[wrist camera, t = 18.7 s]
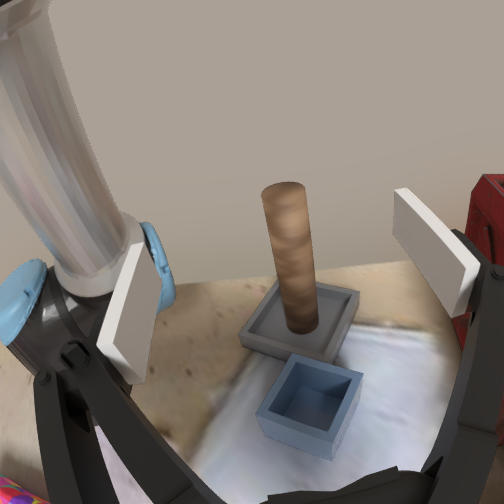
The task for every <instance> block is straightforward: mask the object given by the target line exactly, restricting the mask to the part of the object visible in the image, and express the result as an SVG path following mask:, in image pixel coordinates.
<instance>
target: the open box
mask: <svg viewBox="0 0 504 504" xmlns="http://www.w3.org/2000/svg"><path fill="white" fill-rule="evenodd" d="M363 374H364V373H360V372H357V371H353V370H349V369H345V368H342V367H338V366H335V365H331V364H328V363H324V362H321V361H317V360H314V359H310V358H307V357H304V356H301V355H297V354H294V353H292V354H291V356H290V358H289V359H288V361H287V363H286V364H285V366H284V368H283V370H282V371H281V373H280V375H279V376H278V378H277V380H276V381H275V383H274V384H273V386H272V388H271V389H270V391H269V393H268V394H267V396H266V397H265V399H264V401H263V402H262V404H261V405H260V407H259V409H258V410H257V412H256V413H255V415H256V417H257V419H258V421H259V424H260V426H261V428H262V430H263V432H264V434H265V436H267V437H269V438H272V439H274V440H277V441H279V442H282V443H284V444H287V445H289V446H292V447H294V448H297V449H300V450H302V451H305V452H308V453H311V454H313V455H316V456H319V457H322V458H325V459H328V460H331V461H332V459H333V457H334V455H335V453H336V451H337V449H338V447H339V445H340V443H341V441H342V439H343V437H344V435H345V432H346V430H347V428H348V426H349V424H350V421H351V419H352V417H353V414H354V412H355V410H356V407H357V405H358V403H359V400H360V394H361V388H362V381H363Z"/></svg>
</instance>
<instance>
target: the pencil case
mask: <svg viewBox="0 0 504 504" xmlns="http://www.w3.org/2000/svg"><path fill="white" fill-rule="evenodd" d="M0 504H51V503H49V502H47V501H45V500H43V499H41V498H39V497H37V496H36V495H33V494H31V493H30V492H28V491H26V490H24V489H23V488H22V487H21V486H19V485H17V484H16V483H14V482H13V481H11V480H10V479H8V478H7V477H6V476H4V475H2V474H1V473H0Z"/></svg>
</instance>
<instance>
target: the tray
mask: <svg viewBox="0 0 504 504" xmlns="http://www.w3.org/2000/svg"><path fill="white" fill-rule="evenodd" d="M316 292H317V303H318V316H319V324H318V326H317V328H316V329H315V330H314V331H312V332H311V333H308V334H304V335H299V334H295V333H292V332H291V331H290V330H289V329H288V328H287V324H286V319H285V313H284V308H283V303H282V298H281V292H280V287H279V282H278V279H277V281H276V282H275V284H274V285H273V286H272V288H271V289H270V291H269V292H268V294H267V295H266V296H265V298H264V299H263V301H262V302H261V303H260V305H259V306H258V308H257V309H256V310H255V312H254V313H253V315H252V316H251V317H250V319H249V320H248V321H247V323H246V324H245V326H244V327H243V328H242V330H241V331H240V332H239V334H238V336H239V338H240V341H241V344H242V347H245V348H248V349H251V350H254V351H257V352H259V353H262V354H265V355H268V356H271V357H274V358H277V359H280V360H283V361H286V362H287V361H288V359H289V358H290V356H291V354H292V353H294V354H297V355H301V356H304V357H307V358H310V359H314V360H317V361H321V362H324V363H328V364H331V365H333V363H334V361H335V359H336V357H337V355H338V353H339V350H340V348H341V346H342V344H343V341H344V339H345V337H346V335H347V332H348V330H349V328H350V325H351V323H352V321H353V318H354V316H355V314H356V311H357V309H358V306H359V297H360V291H356V290H351V289H346V288H341V287H337V286H332V285H327V284H322V283H318V282H316Z"/></svg>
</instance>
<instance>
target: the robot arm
mask: <svg viewBox="0 0 504 504" xmlns="http://www.w3.org/2000/svg"><path fill="white" fill-rule="evenodd" d="M51 1H52V0H0V183H1V184H2V186H3V187H4V189H5V190H6V192H7V193H8V195H9V196H10V198H11V199H12V201H13V202H14V204H15V205H16V207H17V208H18V209H19V211H20V212H21V213H22V215H23V216H24V218H25V219H26V221H27V222H28V223H29V225H30V226H31V227H32V229H33V230H34V231H35V233H36V234H37V235H38V237H39V238H40V239H41V241H42V242H43V243H44V244H45V246H46V247H47V248H48V249H49V251H50V252H51V253H52V254H53V256H54V257H55V260H54V266H52V267H50V268H47V265H46V263H45V262H43V261H42V260H40V259H35V260H29V261H27V262H25V263H24V264H22V265H21V266H19V267H18V268H17V269H16V270H15V271H13V272H12V273H11V274H10V275H9V276H8V277H7V278H6V280H5V281H4V282H3V283H2V285H1V286H0V340H1V342H2V344H3V345H5V346H6V347H7V348H8V349H9V350H10V351H11V353H12V354H13V355H14V356H15V357H16V358H17V359H18V360H19V361H20V362H21V363H22V364H23V365H24V366H25V367H26V368H27V369H28V370H29V371H30V372H31V373H32V374H33V375H34V376H35V378H34V382H33V388H34V403H35V414H36V424H37V432H38V440H39V447H40V453H41V459H42V465H43V470H44V475H45V480H46V485H47V489H48V493H49V497H50V501H51V504H120V503H119V501H118V498H117V495H116V493H115V490H114V487H113V485H112V482H111V479H110V476H109V473H108V471H107V468H106V465H105V462H104V458H103V455H102V452H101V449H100V445H99V442H98V439H97V435H96V431H95V428H94V426H97V425H99V426H100V428H101V429H102V431H103V433H104V434H105V436H106V437H107V439H108V441H109V442H110V444H111V445H112V447H113V448H114V450H115V451H116V453H117V454H118V456H119V457H120V459H121V460H122V462H123V463H124V465H125V466H126V468H127V469H128V470H129V472H130V473H131V475H132V476H133V477H134V479H135V480H136V481H137V483H138V484H139V485H140V487H141V488H142V489H143V491H144V492H145V493H146V495H147V496H148V497H149V498H150V500H151V501H152V502H153V503H154V504H227V503H226V502H224V501H223V500H222V499H221V498H219V497H218V496H217V495H216V494H215V493H214V492H213V491H212V490H211V489H210V488H209V487H208V486H207V485H206V484H205V483H204V482H203V481H202V480H201V479H200V478H199V477H198V476H197V475H196V474H195V473H194V472H193V471H192V470H191V469H190V468H189V466H188V465H187V464H186V463H185V462H184V461H183V460H182V459H181V458H180V457H179V456H178V454H177V453H176V452H175V451H174V450H173V449H172V448H171V447H170V445H169V444H168V443H167V442H166V441H165V440H164V438H163V437H162V436H161V435H160V434H159V433H158V431H157V430H156V429H155V428H154V426H153V425H152V424H151V423H150V422H149V420H148V419H147V418H146V416H145V415H144V414H143V413H142V411H141V410H140V409H139V407H138V406H137V405H136V404H135V402H134V401H133V400H132V398H131V397H130V396H129V394H130V391H131V387H132V384H145V378H146V371H147V365H148V358H149V352H150V346H151V340H152V335H153V329H154V324H155V318H156V316H157V314H158V313H159V312H161V311H163V310H165V309H166V308H168V307H170V306H171V305H172V304H173V303H174V301H175V299H176V289H175V284H174V280H173V276H172V273H171V270H170V268H169V267H168V262H167V258H166V255H165V252H164V249H163V247H162V244H161V242H160V240H159V237H158V235H157V233H156V231H155V229H154V228H153V226H152V225H151V224H150V223H148V222H143V223H138V222H137V221H136V220H135V218H134V217H132V216H131V215H129V214H127V213H125V212H122V211H119V210H118V208H117V206H116V203H115V201H114V199H113V197H112V194H111V193H110V190H109V188H108V186H107V183H106V181H105V179H104V176H103V174H102V172H101V169H100V167H99V164H98V162H97V160H96V157H95V155H94V152H93V150H92V147H91V145H90V142H89V140H88V137H87V134H86V132H85V129H84V127H83V124H82V121H81V119H80V116H79V113H78V111H77V108H76V105H75V102H74V99H73V97H72V93H71V91H70V87H69V84H68V81H67V78H66V76H65V72H64V69H63V66H62V63H61V60H60V56H59V53H58V49H57V46H56V42H55V39H54V35H53V32H52V28H51V24H50V20H49V17H48V6H49V4H50V2H51ZM393 235H394V236H395V238H396V239H397V240H398V241H399V243H400V244H401V246H402V247H403V248H404V250H405V251H406V253H407V254H408V255H409V257H410V258H411V260H412V261H413V262H414V264H415V265H416V267H417V268H418V269H419V271H420V272H421V274H422V275H423V277H424V278H425V279H426V281H427V282H428V284H429V285H430V287H431V288H432V290H433V291H434V293H435V294H436V296H437V297H438V299H439V300H440V302H441V303H442V305H443V306H444V308H445V310H446V311H447V313H448V314H449V316H450V317H451V318H454V317H456V316H459V315H462V314H465V311H466V308H467V305H468V304H469V305H470V307H471V308H472V312H471V315H470V317H469V320H468V322H467V325H466V327H468V331H467V336H466V340H465V345H464V350H463V354H462V358H461V362H460V366H459V370H458V374H457V378H456V381H455V385H454V388H453V392H452V395H451V398H450V401H449V405H448V408H447V411H446V414H445V417H444V420H443V422H442V425H441V428H440V431H439V433H438V436H437V439H436V441H435V444H434V446H433V449H432V451H431V453H430V455H429V456H428V458H427V460H426V462H425V463H424V465H423V467H422V469H421V471H420V472H416V471H405V470H401V471H398V467H397V466H395V467H392V468H389V469H386V470H382V471H379V472H376V473H373V474H369V475H366V476H364V477H363V478H361V479H359V480H357V481H355V482H353V483H351V484H349V485H347V486H345V487H343V488H341V489H339V490H337V491H295V492H288V493H282V494H275V495H267V496H268V500H267V501H265V502H262V503H260V504H478V502H479V499H480V497H481V494H482V491H483V489H484V486H485V483H486V480H487V477H488V474H489V471H490V468H491V465H492V462H493V458H494V455H495V452H496V448H497V444H498V435H497V434H496V433H495V428H496V424H497V420H498V415H499V411H500V406H501V401H502V396H503V390H504V266H501V265H497V264H491V263H490V261H489V260H488V259H487V258H486V257H485V256H484V255H483V254H482V253H481V251H480V250H479V249H478V248H477V247H475V245H474V244H473V243H472V242H470V240H469V239H468V238H467V237H466V235H465V234H463V233H461V232H460V231H458V230H456V229H453V230H449V229H448V228H447V227H446V226H445V225H444V223H443V222H442V221H441V220H440V219H439V218H438V217H437V216H436V215H435V214H434V213H433V212H432V211H431V210H430V209H429V208H427V207H426V206H425V205H424V204H423V203H422V202H421V201H420V200H419V199H418V198H417V197H416V196H415V195H414V194H413V193H412V192H411V191H409V190H408V189H407V188H402V189H397V190H394V216H393Z"/></svg>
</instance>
